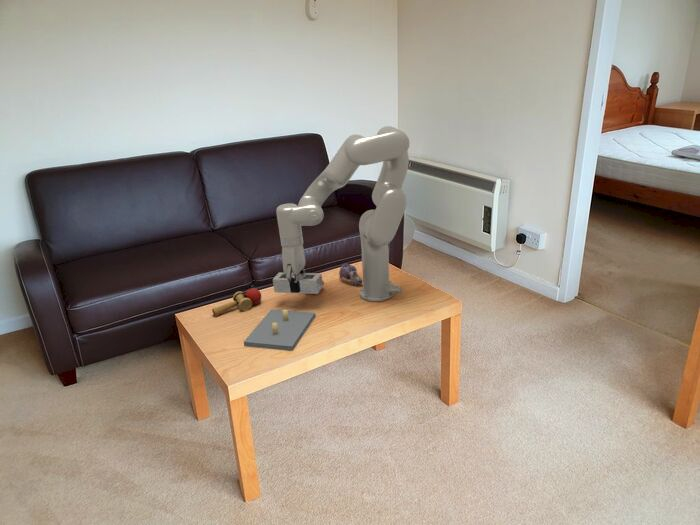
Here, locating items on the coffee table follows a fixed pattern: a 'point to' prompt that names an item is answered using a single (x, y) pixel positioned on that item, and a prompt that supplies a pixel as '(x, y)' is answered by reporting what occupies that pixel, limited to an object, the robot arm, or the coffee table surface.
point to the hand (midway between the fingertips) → (298, 287)
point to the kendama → (240, 301)
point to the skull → (349, 274)
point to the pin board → (280, 329)
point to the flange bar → (307, 283)
